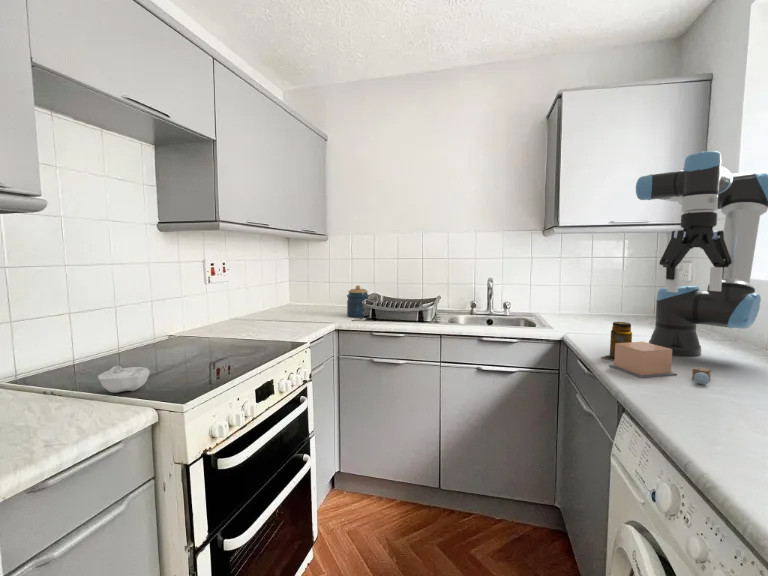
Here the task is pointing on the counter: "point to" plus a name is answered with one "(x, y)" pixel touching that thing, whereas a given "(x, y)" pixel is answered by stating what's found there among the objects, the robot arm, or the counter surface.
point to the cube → (703, 370)
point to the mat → (643, 375)
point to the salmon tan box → (643, 358)
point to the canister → (356, 302)
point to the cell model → (123, 378)
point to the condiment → (619, 337)
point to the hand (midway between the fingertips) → (693, 291)
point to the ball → (701, 378)
